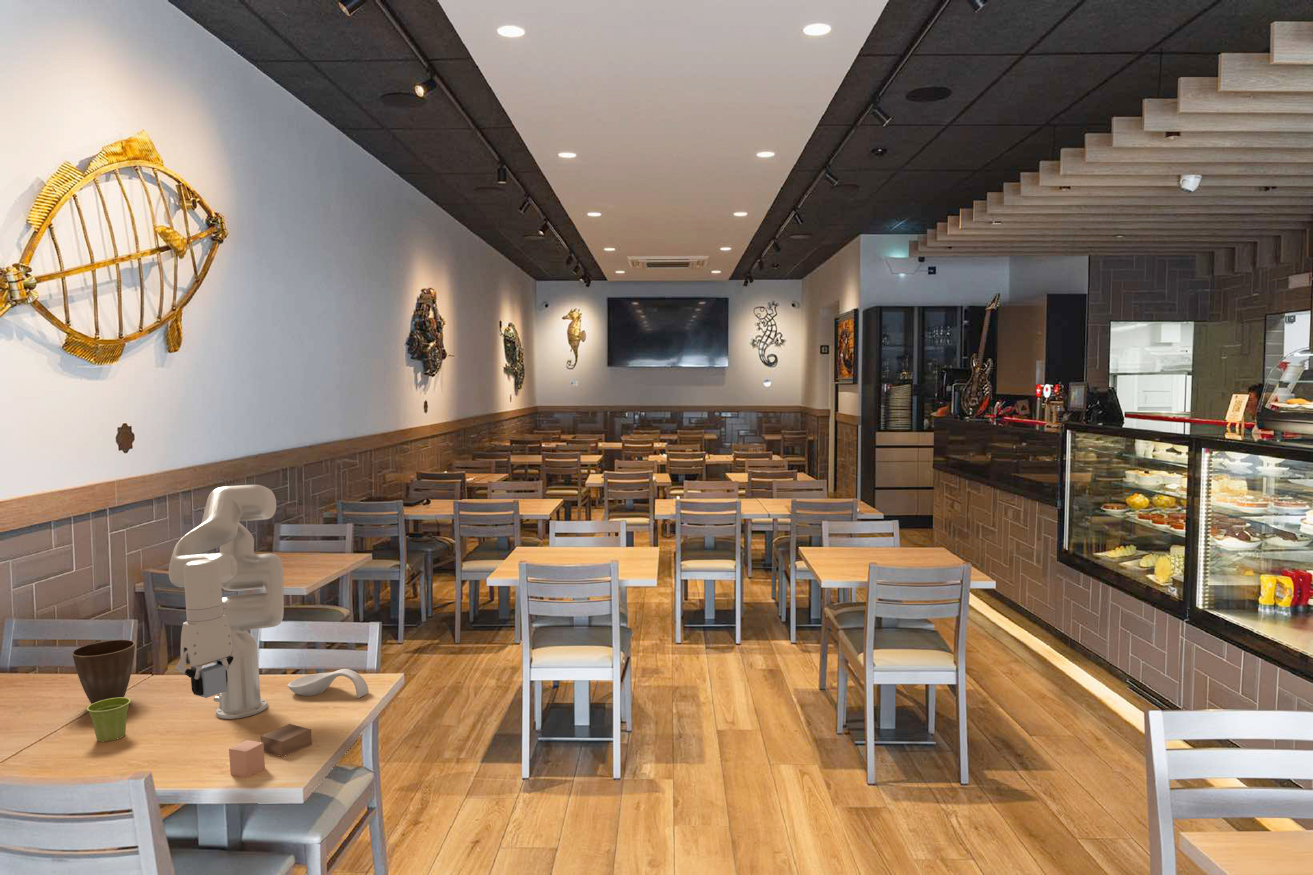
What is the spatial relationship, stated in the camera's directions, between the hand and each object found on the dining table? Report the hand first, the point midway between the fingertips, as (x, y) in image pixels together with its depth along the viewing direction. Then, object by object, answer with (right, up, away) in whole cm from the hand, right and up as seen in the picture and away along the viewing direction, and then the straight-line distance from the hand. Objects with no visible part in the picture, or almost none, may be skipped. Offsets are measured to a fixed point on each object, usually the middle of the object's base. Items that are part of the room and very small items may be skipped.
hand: (210, 689), depth 200 cm
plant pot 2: (-34, -18, +18) cm, 43 cm away
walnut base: (+14, -17, +8) cm, 23 cm away
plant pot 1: (-51, -17, +43) cm, 69 cm away
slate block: (0, -1, 0) cm, 1 cm away
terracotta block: (+11, -17, -4) cm, 21 cm away
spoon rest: (+10, -15, +45) cm, 49 cm away
